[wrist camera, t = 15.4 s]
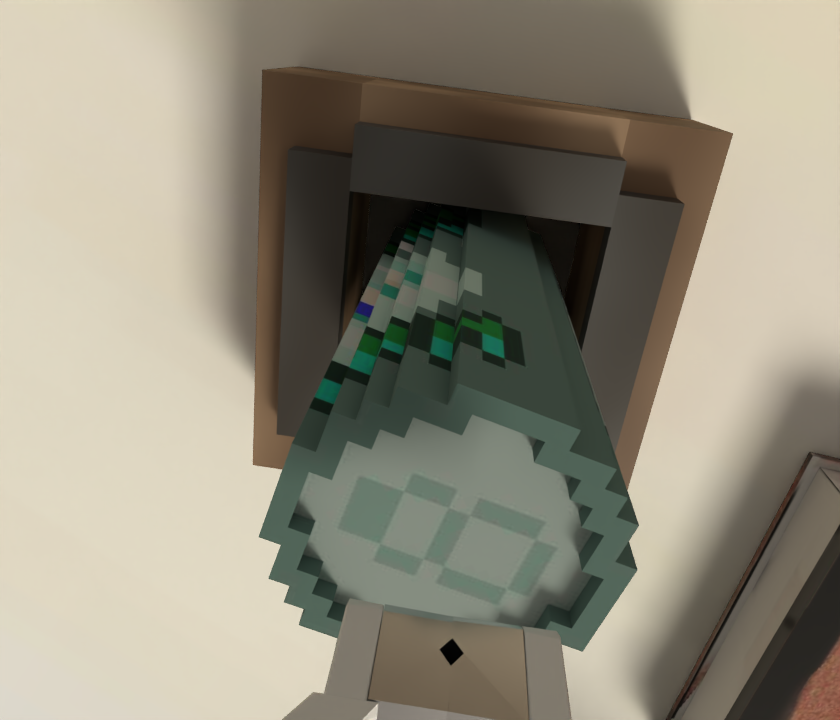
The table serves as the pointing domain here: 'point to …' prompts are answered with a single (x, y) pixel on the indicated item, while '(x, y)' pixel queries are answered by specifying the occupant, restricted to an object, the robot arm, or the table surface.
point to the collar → (482, 189)
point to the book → (780, 618)
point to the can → (456, 446)
